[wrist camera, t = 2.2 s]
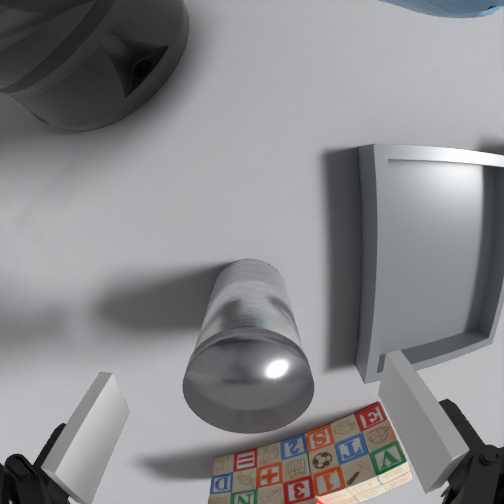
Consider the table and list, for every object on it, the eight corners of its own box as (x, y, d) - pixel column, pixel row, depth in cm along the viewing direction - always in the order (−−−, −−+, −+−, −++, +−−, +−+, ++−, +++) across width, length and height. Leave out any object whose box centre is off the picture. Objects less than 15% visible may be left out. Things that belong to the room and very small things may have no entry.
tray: (357, 147, 19) (373, 143, 16) (495, 156, 19) (516, 157, 16) (354, 363, 24) (364, 383, 21) (477, 330, 24) (491, 343, 21)
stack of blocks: (379, 398, 26) (419, 484, 14) (388, 424, 28) (421, 499, 16) (212, 457, 29) (203, 538, 17) (237, 476, 30) (234, 549, 18)
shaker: (207, 261, 22) (168, 346, 11) (284, 254, 21) (315, 335, 11) (218, 328, 23) (198, 434, 12) (288, 322, 23) (312, 427, 12)
